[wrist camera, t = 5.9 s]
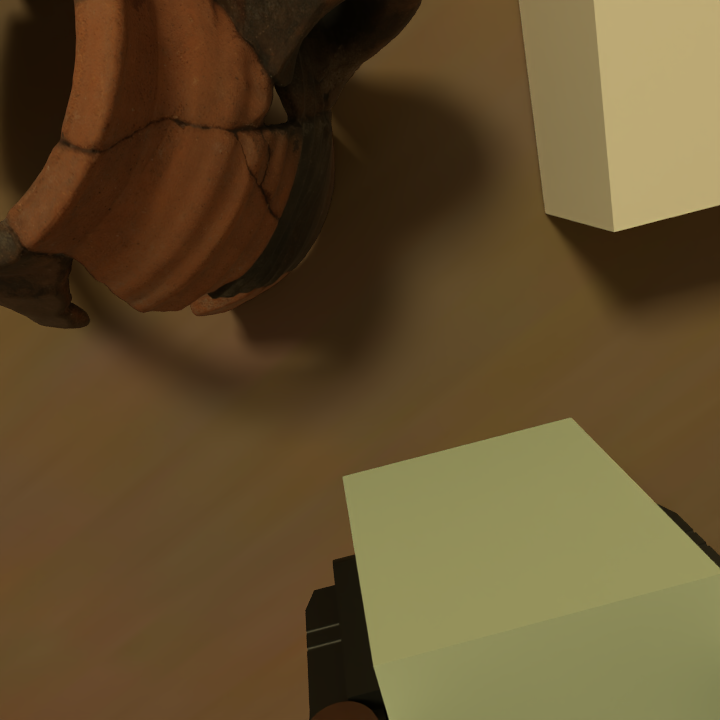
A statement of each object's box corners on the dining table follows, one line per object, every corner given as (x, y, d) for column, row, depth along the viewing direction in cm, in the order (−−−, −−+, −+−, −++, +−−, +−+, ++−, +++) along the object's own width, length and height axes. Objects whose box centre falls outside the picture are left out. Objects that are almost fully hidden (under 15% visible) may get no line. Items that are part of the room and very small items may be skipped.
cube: (342, 476, 13) (373, 665, 9) (571, 417, 13) (724, 572, 9) (390, 652, 15) (438, 888, 10) (592, 598, 15) (728, 808, 10)
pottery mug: (179, 380, 19) (-102, 427, 11) (49, 120, 20) (-290, 2, 12) (538, 145, 15) (479, -29, 7) (352, -166, 16) (129, -606, 8)
